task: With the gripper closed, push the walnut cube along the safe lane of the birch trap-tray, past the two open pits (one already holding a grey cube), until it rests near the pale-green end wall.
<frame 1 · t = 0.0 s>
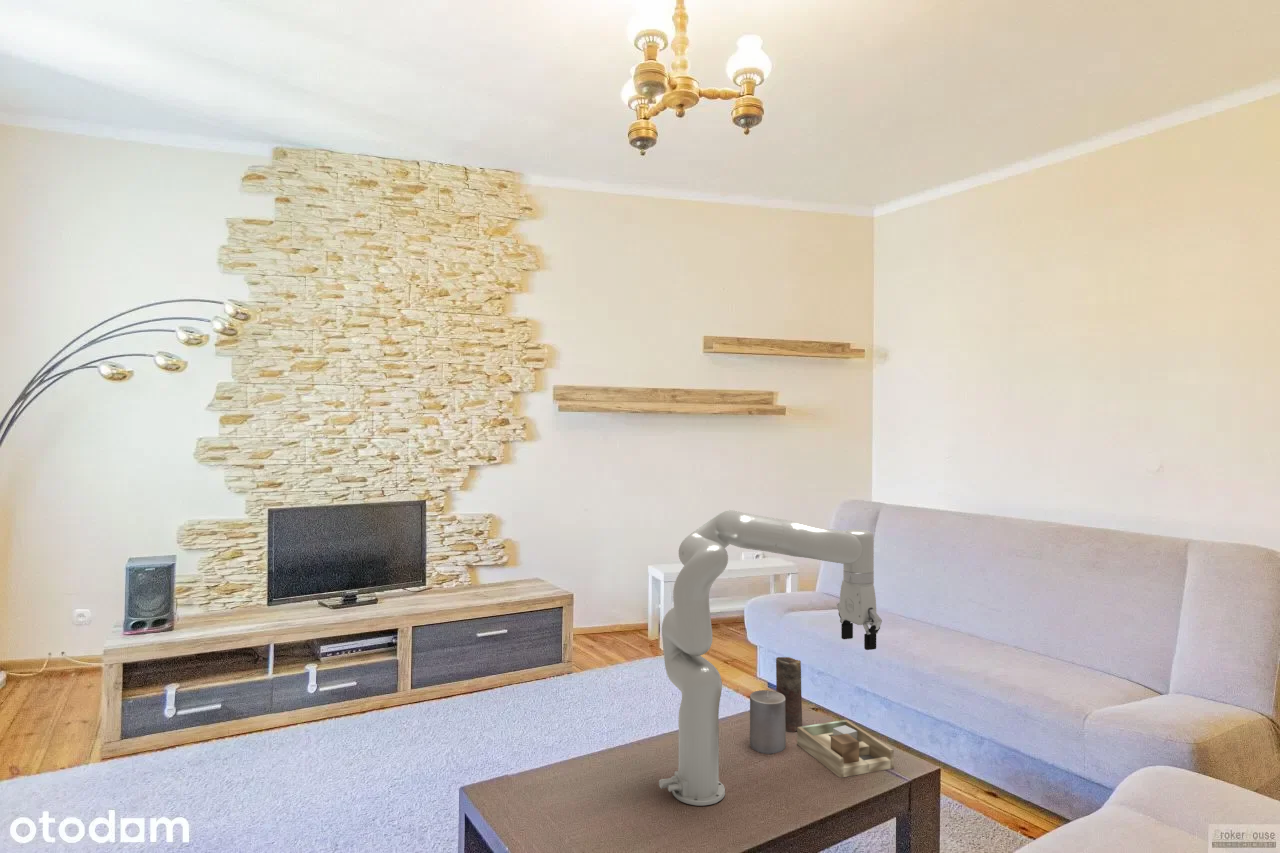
hand: (858, 643, 184), 31 cm above the table, fingers open, 9 cm apart
walnut block: (844, 758, 182), point 2 cm above the table, touching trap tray
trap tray: (843, 756, 188), on the table
trapped grey block: (845, 746, 194), resting on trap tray
pillar candle: (767, 747, 194), on the table
brown wooden cylinder: (789, 728, 206), on the table
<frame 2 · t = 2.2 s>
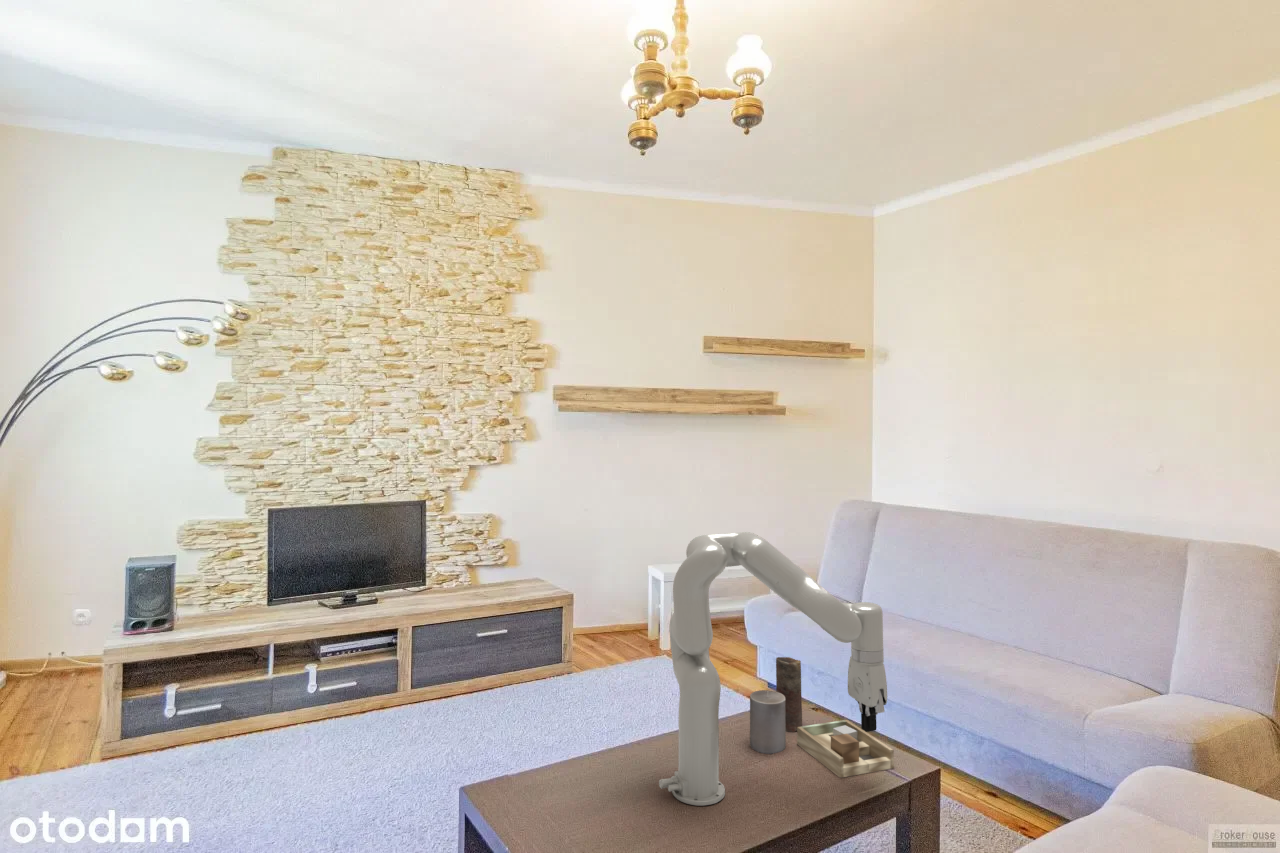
hand: (868, 729, 173), 13 cm above the table, fingers closed
nothing on the table moved.
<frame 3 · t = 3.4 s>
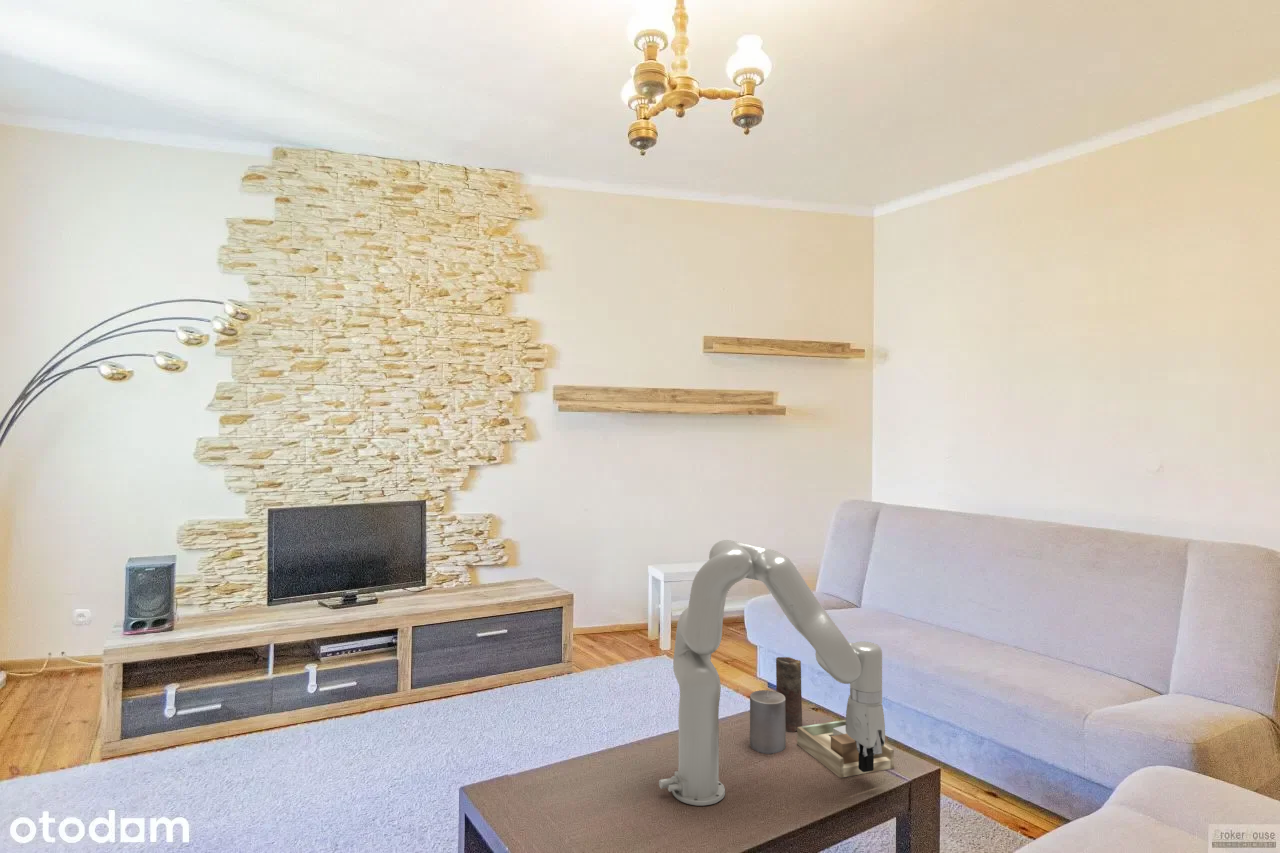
hand: (866, 769, 173), 3 cm above the table, fingers closed
nothing on the table moved.
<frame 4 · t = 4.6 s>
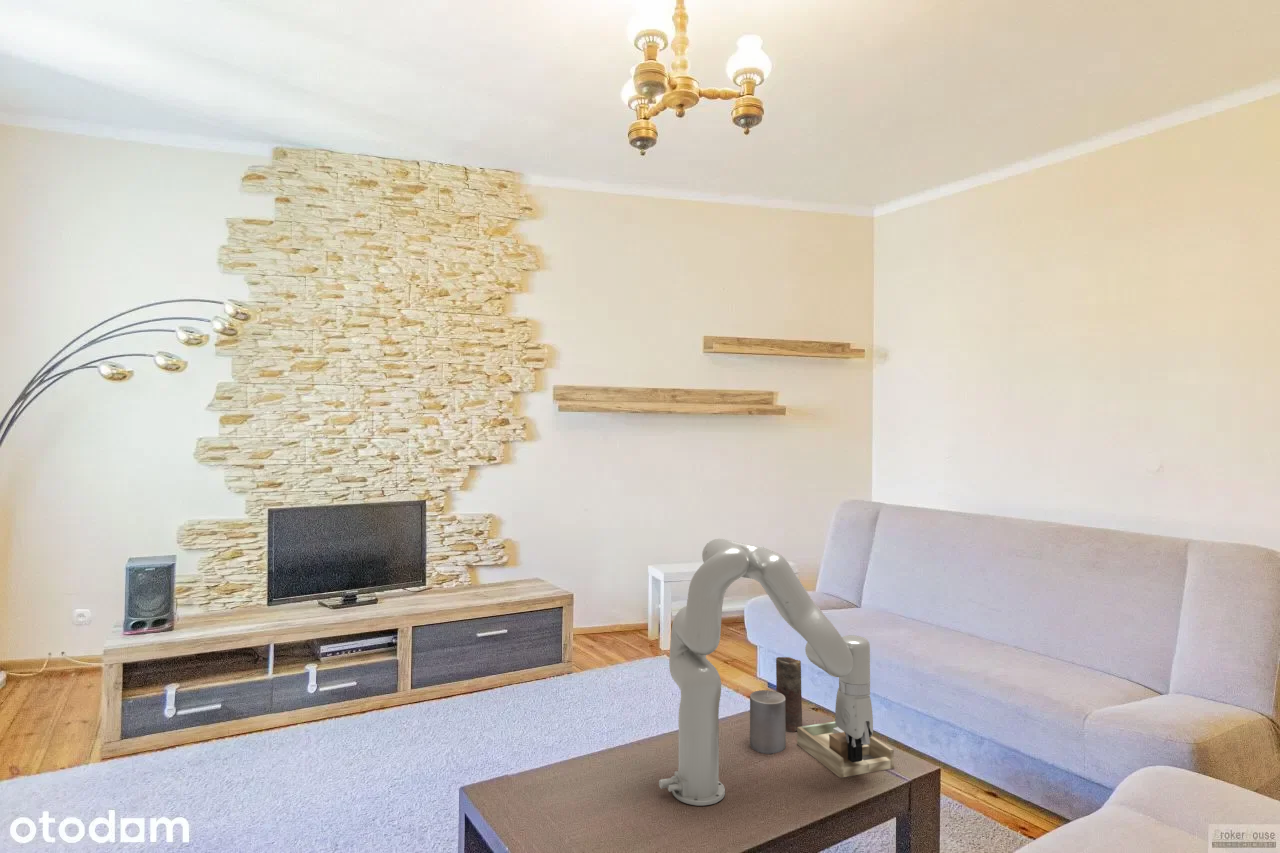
hand: (855, 760, 178), 4 cm above the table, fingers closed
walnut block: (843, 756, 183), point 3 cm above the table, touching gripper
everything else where it was.
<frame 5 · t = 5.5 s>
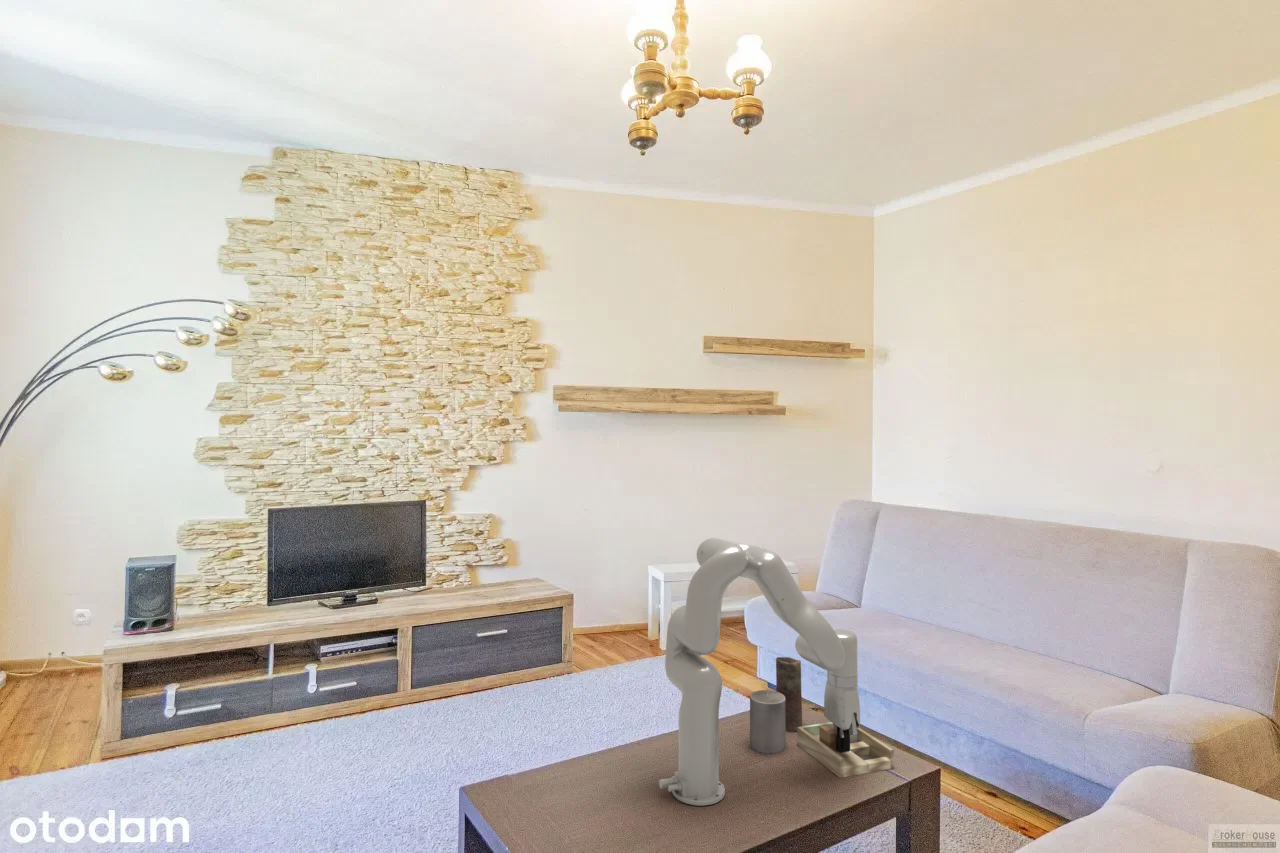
hand: (843, 750, 183), 4 cm above the table, fingers closed
walnut block: (832, 747, 188), point 3 cm above the table, touching gripper
everything else where it was.
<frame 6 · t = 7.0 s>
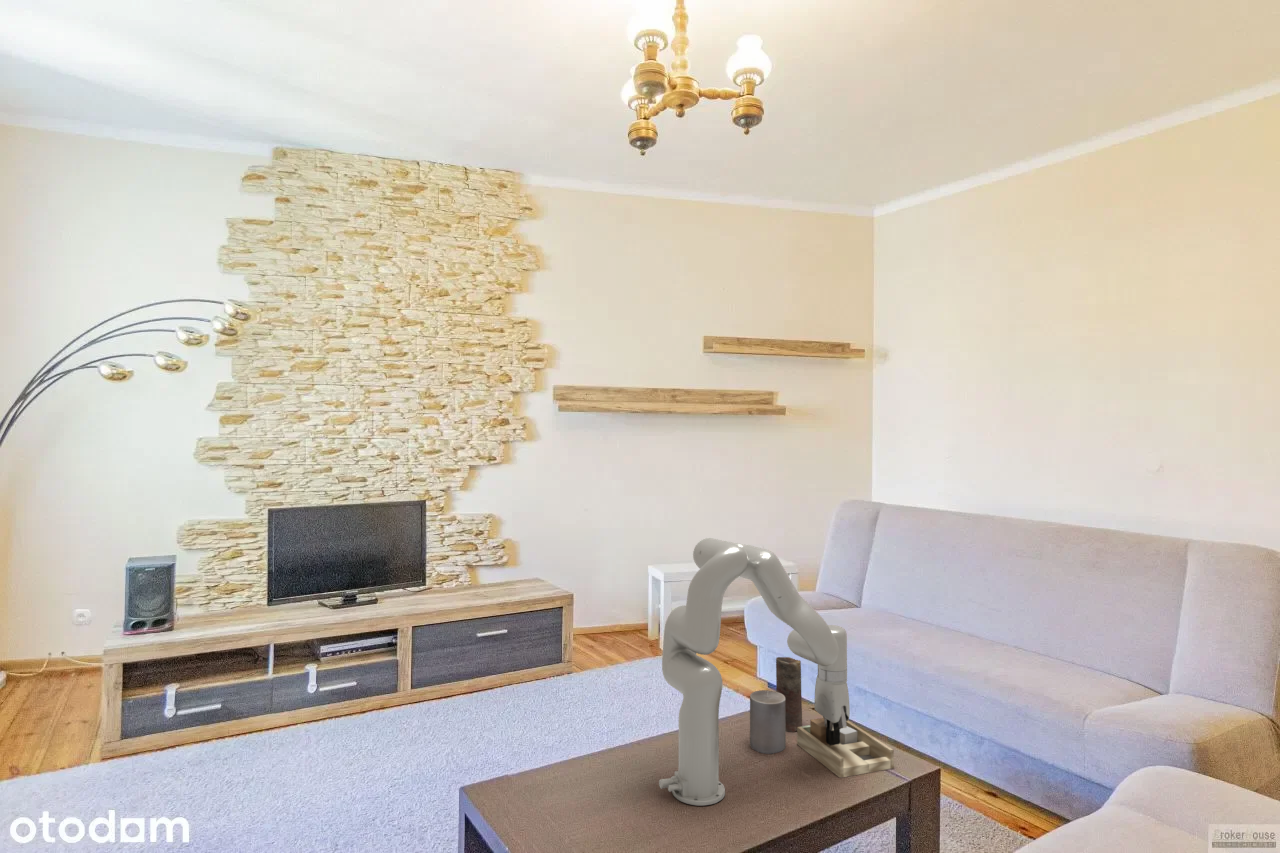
hand: (833, 743, 187), 4 cm above the table, fingers closed
walnut block: (823, 740, 192), point 2 cm above the table, touching gripper, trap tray
everything else where it was.
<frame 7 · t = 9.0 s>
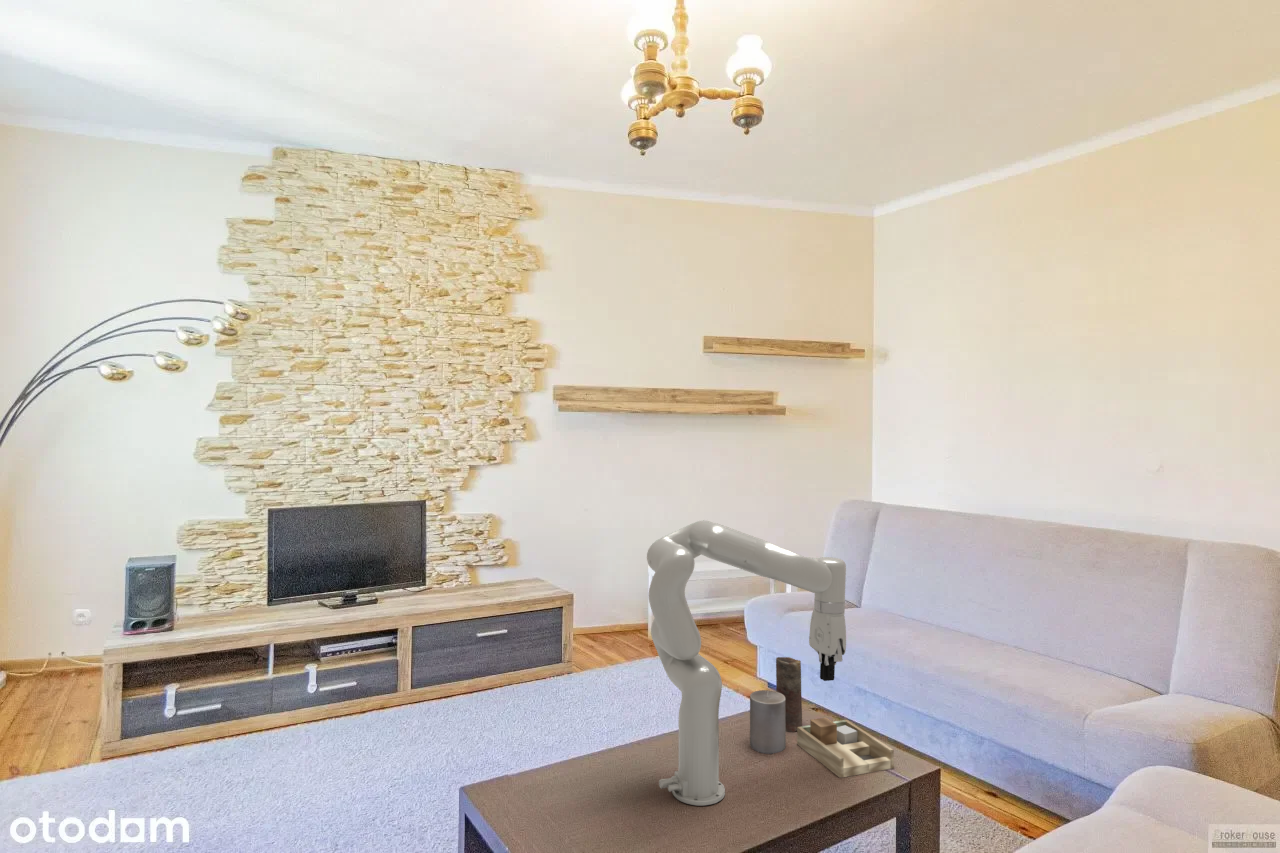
hand: (827, 679, 180), 23 cm above the table, fingers closed
walnut block: (823, 740, 192), point 2 cm above the table, touching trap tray
everything else where it was.
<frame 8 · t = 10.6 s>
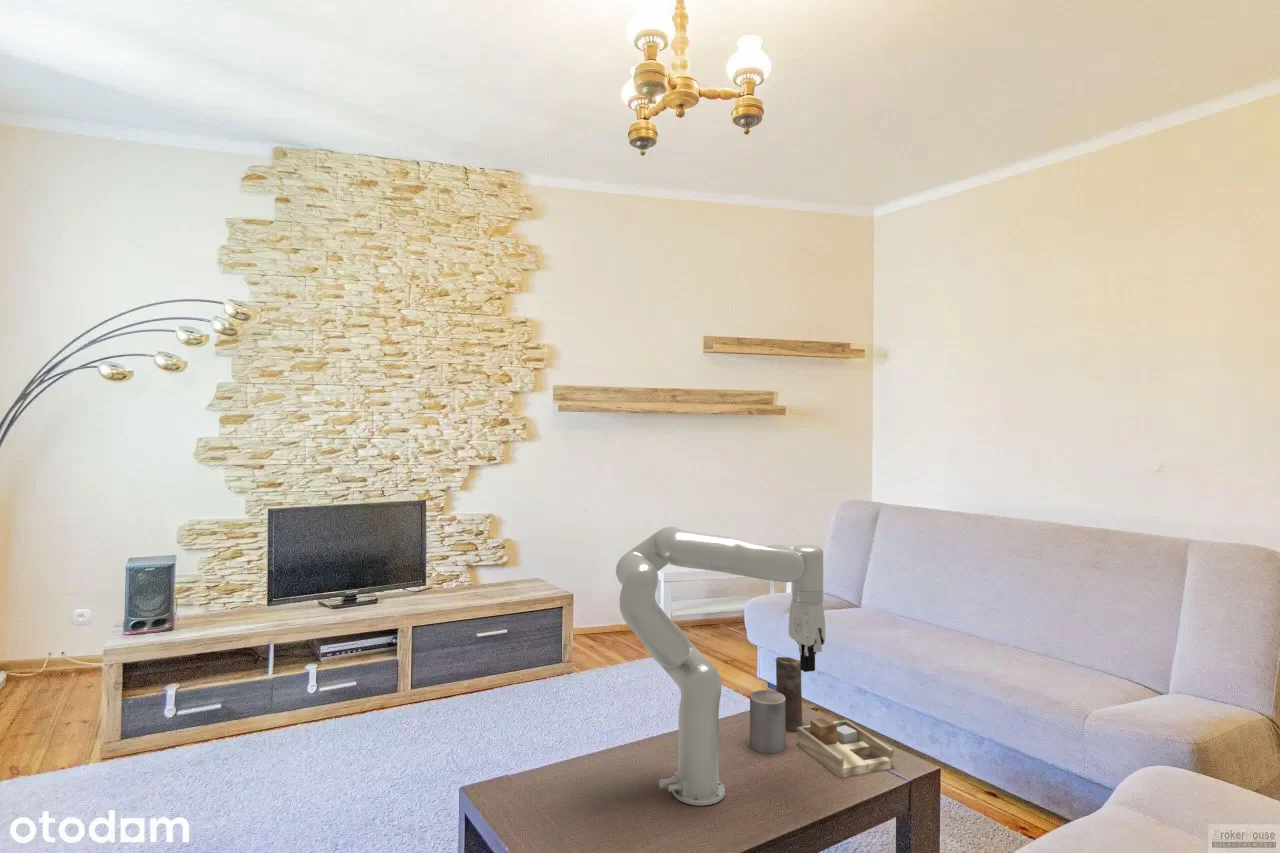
hand: (807, 670, 175), 27 cm above the table, fingers closed
nothing on the table moved.
at the end: walnut block 0.5 cm from the target spot, point 2.5 cm above the table; walnut block tilted 0° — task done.
